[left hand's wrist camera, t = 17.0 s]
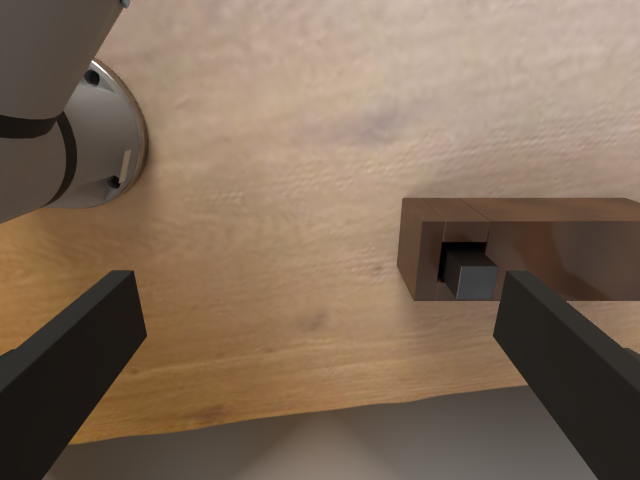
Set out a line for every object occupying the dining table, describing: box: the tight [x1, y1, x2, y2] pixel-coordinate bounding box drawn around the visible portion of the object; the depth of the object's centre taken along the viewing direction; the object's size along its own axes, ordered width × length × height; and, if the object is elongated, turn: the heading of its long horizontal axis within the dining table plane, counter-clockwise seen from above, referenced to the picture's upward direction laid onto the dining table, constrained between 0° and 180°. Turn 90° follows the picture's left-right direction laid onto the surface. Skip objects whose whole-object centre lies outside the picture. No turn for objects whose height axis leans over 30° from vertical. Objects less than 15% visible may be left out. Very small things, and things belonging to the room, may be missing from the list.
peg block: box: [397, 198, 640, 301], centre depth 37 cm, size 24×8×8 cm, turn 90°
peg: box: [438, 242, 498, 300], centre depth 35 cm, size 3×3×12 cm
